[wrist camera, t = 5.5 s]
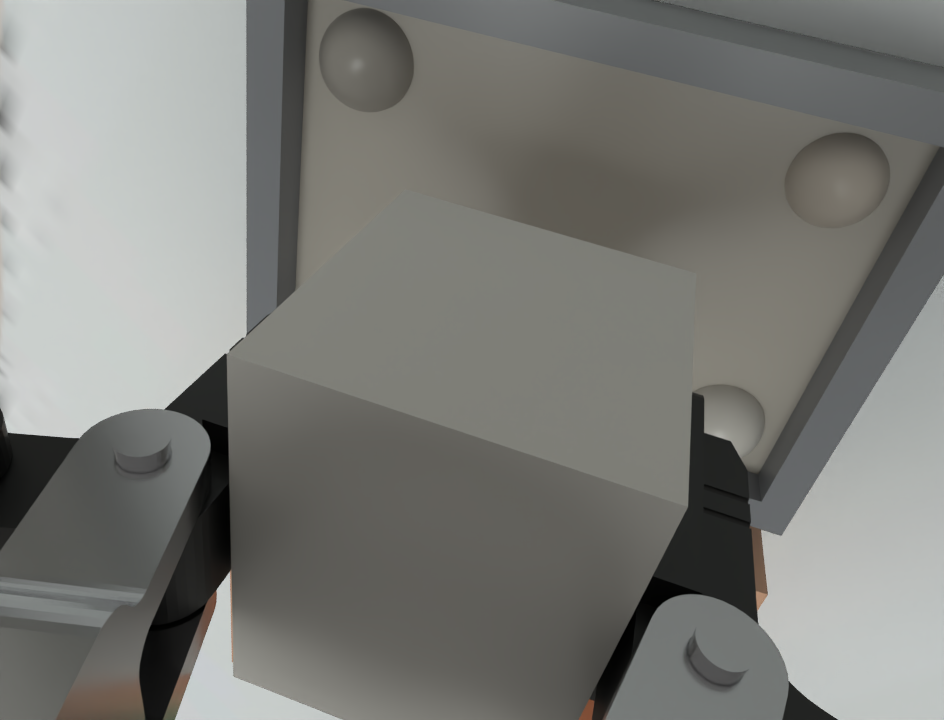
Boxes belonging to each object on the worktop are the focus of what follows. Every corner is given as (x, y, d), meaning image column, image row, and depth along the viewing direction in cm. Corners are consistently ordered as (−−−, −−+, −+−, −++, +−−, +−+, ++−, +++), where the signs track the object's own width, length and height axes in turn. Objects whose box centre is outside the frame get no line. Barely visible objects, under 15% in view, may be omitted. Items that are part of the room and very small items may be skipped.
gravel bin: (336, -74, 16) (246, -72, 13) (964, 72, 15) (1041, 116, 11) (313, 299, 22) (246, 366, 19) (767, 436, 20) (781, 535, 17)
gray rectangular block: (405, 189, 10) (225, 354, 6) (696, 273, 9) (687, 506, 6) (369, 456, 12) (233, 676, 9) (589, 531, 12) (538, 797, 8)
